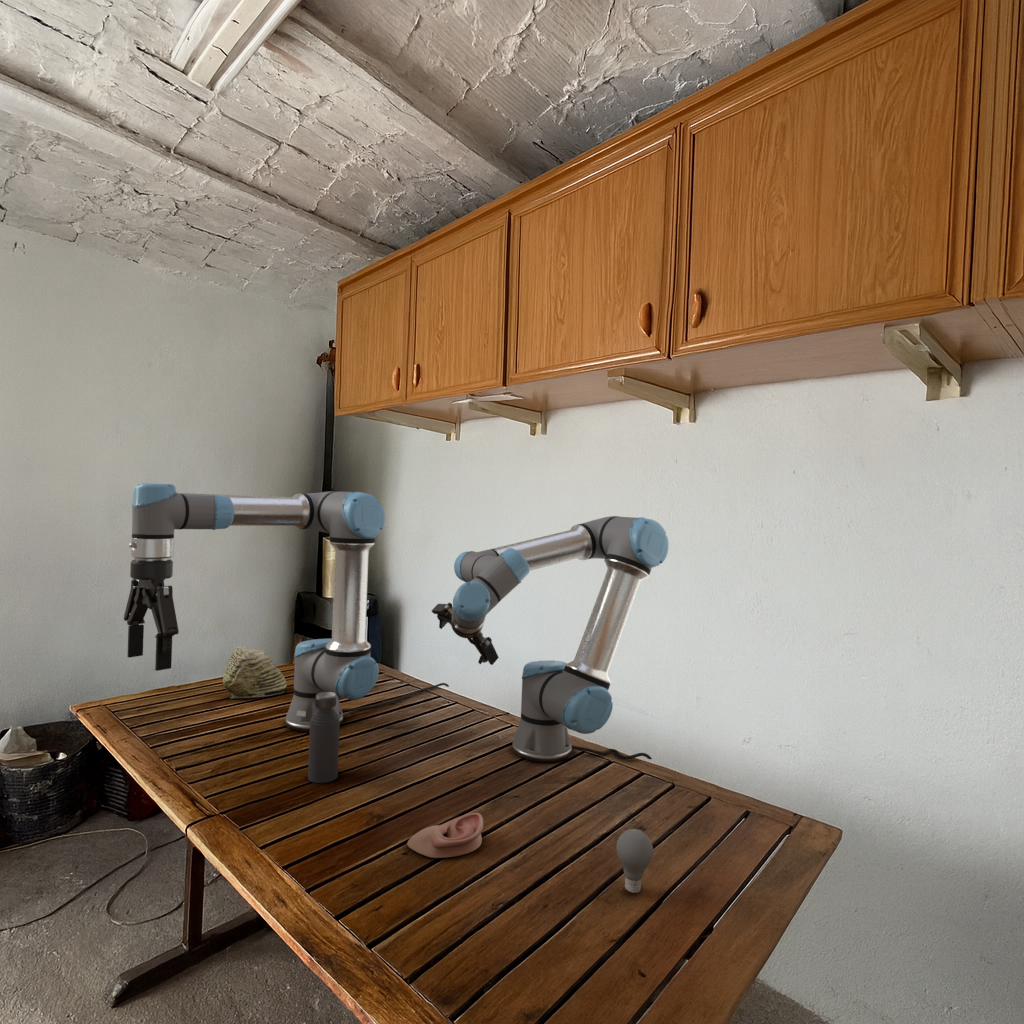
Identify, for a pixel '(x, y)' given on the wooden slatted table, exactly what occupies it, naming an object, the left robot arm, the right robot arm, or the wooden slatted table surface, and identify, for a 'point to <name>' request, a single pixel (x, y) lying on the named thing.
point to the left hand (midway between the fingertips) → (148, 662)
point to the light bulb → (634, 857)
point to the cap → (325, 700)
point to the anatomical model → (449, 837)
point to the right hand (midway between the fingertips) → (463, 641)
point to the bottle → (323, 746)
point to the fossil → (252, 674)
